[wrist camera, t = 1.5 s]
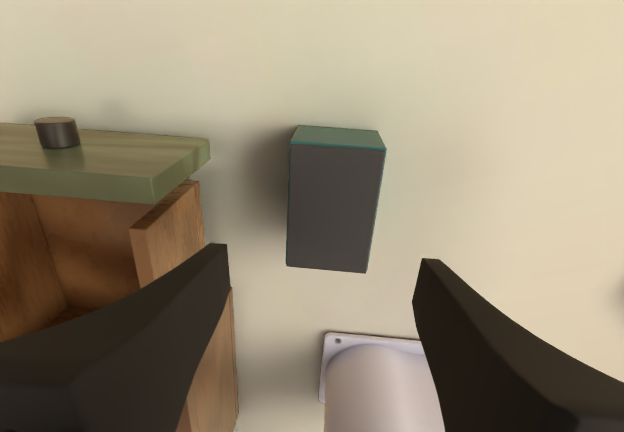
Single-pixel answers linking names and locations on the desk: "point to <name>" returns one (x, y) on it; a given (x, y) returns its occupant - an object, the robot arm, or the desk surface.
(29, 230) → the drawer
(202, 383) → the cabinet
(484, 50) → the desk surface
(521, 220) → the desk surface
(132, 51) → the desk surface
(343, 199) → the teal and grey block
